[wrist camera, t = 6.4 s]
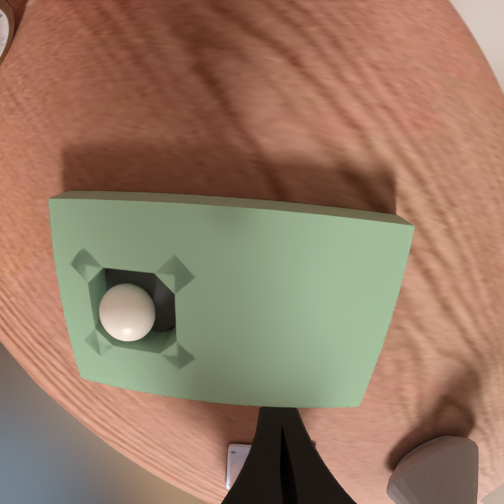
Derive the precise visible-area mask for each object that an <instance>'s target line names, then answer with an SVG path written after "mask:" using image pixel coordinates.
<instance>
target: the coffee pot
mask: <svg viewBox="0 0 504 504" xmlns="http://www.w3.org/2000/svg"><path fill="white" fill-rule="evenodd" d="M477 492H478V446H477V445H476V443H475V442H474V441H472V440H470V439H468V438H464V437H453V436H442V437H438V438H435V439H433V440H430V441H428V442H426V443H424V444H422V445H420V446H418V447H417V448H415V449H413V450H412V451H411V452H409V453H408V454H407V455H405V456H404V457H403V458H402V459H401V460H400V462H399V464H398V465H397V468H396V469H395V470H394V472H393V473H392V475H391V477H390V478H389V481H388V486H387V494H388V496H389V497H390V498H391V499H392V500H393V501H394V502H395V503H396V504H477Z"/></svg>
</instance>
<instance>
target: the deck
mask: <svg viewBox="0 0 504 504" xmlns="http://www.w3.org/2000/svg"><path fill="white" fill-rule="evenodd" d="M48 200H49V214H50V226H51V236H52V245H53V253H54V260H55V267H56V273H57V279H58V285H59V291H60V296H61V301H62V306H63V311H64V315H65V320H66V324H67V329H68V333H69V337H70V341H71V344H72V348H73V352H74V356H75V359H76V363H77V366H78V369H79V373H80V376H81V378H82V379H86V380H90V381H94V382H98V383H102V384H106V385H111V386H115V387H120V388H124V389H129V390H134V391H139V392H145V393H150V394H156V395H162V396H168V397H175V398H181V399H189V400H196V401H205V402H213V403H223V404H234V405H247V406H267V407H296V408H333V407H359V405H360V403H361V400H362V398H363V396H364V393H365V391H366V388H367V386H368V383H369V381H370V378H371V376H372V373H373V370H374V368H375V365H376V362H377V359H378V357H379V354H380V351H381V348H382V345H383V342H384V339H385V337H386V333H387V330H388V327H389V324H390V321H391V318H392V315H393V311H394V308H395V305H396V301H397V298H398V294H399V291H400V287H401V283H402V280H403V276H404V272H405V268H406V264H407V260H408V256H409V251H410V247H411V242H412V238H413V233H414V228H415V226H414V225H412V224H411V223H409V222H408V221H406V220H404V219H403V218H401V217H399V216H398V215H394V214H387V213H379V212H372V211H364V210H356V209H348V208H339V207H331V206H322V205H312V204H303V203H292V202H282V201H271V200H260V199H247V198H234V197H221V196H205V195H189V194H170V193H148V192H118V191H68V192H65V193H63V194H60V195H57V196H54V197H51V198H49V199H48ZM105 268H108V269H107V270H106V271H105ZM124 283H129V284H134V285H137V286H139V287H141V288H142V289H144V290H145V291H146V292H147V293H148V294H149V296H150V297H151V299H152V300H153V303H154V306H155V321H154V324H153V326H152V328H151V330H150V331H149V332H148V333H147V334H146V335H145V336H144V337H142V338H140V339H138V340H135V341H121V340H118V339H116V338H114V337H112V336H111V335H110V334H109V333H108V332H107V331H106V330H105V329H104V327H103V325H102V323H101V320H100V316H99V306H100V302H101V300H102V298H103V296H104V294H105V293H106V292H107V291H108V290H109V289H111V288H112V287H114V286H116V285H119V284H124ZM174 326H176V327H175V328H173V327H174ZM171 328H173V329H172V330H171V331H167V330H169V329H171Z"/></svg>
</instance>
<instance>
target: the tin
mask: <svg viewBox="0 0 504 504" xmlns="http://www.w3.org/2000/svg"><path fill="white" fill-rule="evenodd" d="M14 30H15V15H14V11H13V8H12V6H11V5H10V3H9V2H8V1H7V0H0V65H1V63H2V61H3V59H4V57H5V55H6V53H7V51H8V49H9V47H10V44H11V42H12V38H13V35H14Z"/></svg>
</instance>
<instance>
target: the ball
mask: <svg viewBox="0 0 504 504" xmlns="http://www.w3.org/2000/svg"><path fill="white" fill-rule="evenodd" d="M99 316H100V320H101V323H102V325H103V327H104V329H105V330H106V331H107V332H108V333H109V334H110V335H111V336H112V337H114V338H116V339H118V340H121V341H135V340H138V339H140V338H142V337H144V336H145V335H146V334H147V333H148V332H149V331H150V330H151V328H152V326H153V324H154V321H155V306H154V303H153V300H152V299H151V297H150V296H149V294H148V293H147V292H146V291H145V290H144V289H142V288H141V287H139V286H137V285H134V284H129V283H124V284H119V285H116V286H114V287H112V288H111V289H109V290H108V291H107V292H106V293H105V294H104V296H103V298H102V300H101V302H100V306H99Z"/></svg>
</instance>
